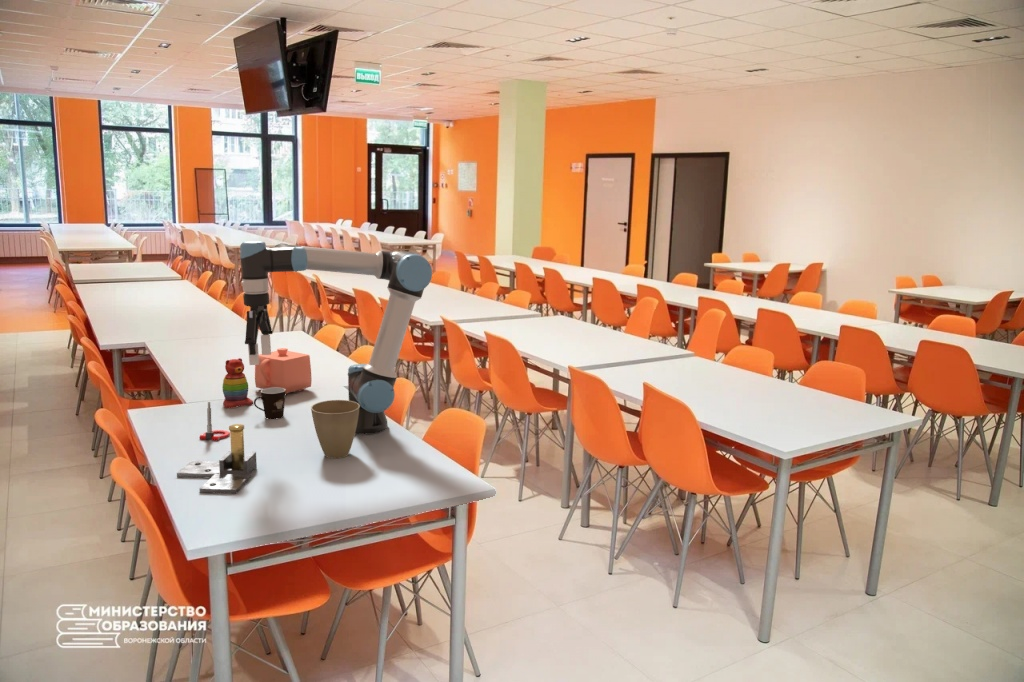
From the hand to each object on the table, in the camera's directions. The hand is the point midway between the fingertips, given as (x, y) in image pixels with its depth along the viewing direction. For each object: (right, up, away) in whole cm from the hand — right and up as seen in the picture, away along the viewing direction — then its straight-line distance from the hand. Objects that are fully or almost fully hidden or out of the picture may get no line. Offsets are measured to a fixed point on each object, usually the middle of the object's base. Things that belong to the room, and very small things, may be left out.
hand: (260, 359), depth 236 cm
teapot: (-19, -15, +79) cm, 82 cm away
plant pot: (+23, -30, +4) cm, 38 cm away
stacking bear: (-28, -19, +56) cm, 66 cm away
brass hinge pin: (-2, -33, -13) cm, 36 cm away
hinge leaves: (-8, -34, -19) cm, 39 cm away
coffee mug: (-10, -22, +41) cm, 47 cm away
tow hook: (-21, -27, +18) cm, 39 cm away
